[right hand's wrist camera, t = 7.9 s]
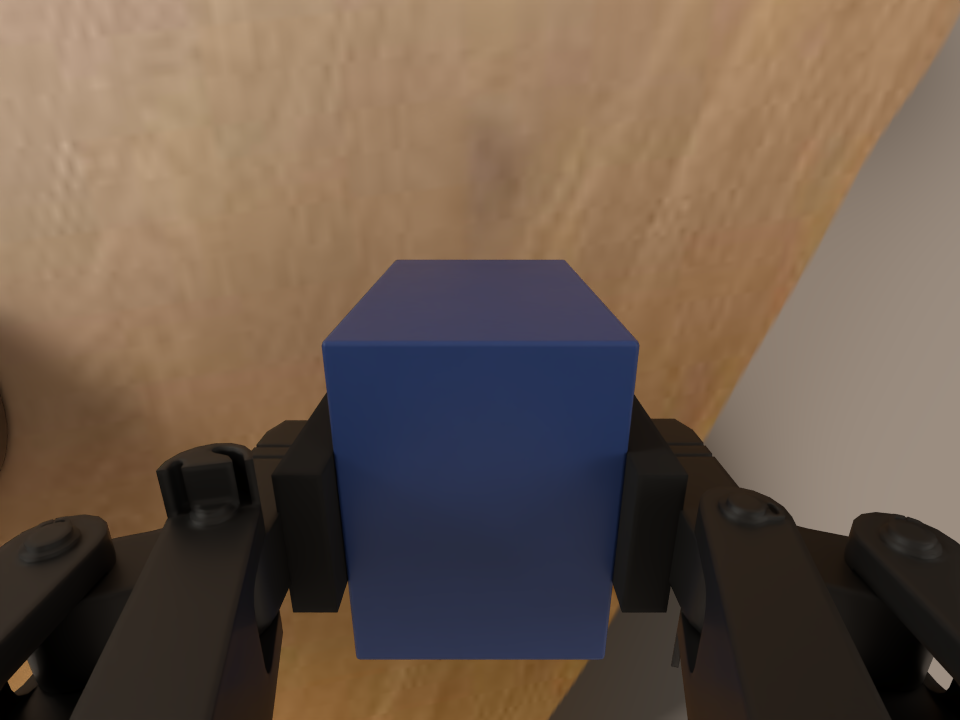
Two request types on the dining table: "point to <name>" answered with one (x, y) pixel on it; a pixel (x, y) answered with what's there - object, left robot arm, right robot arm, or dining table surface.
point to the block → (480, 459)
